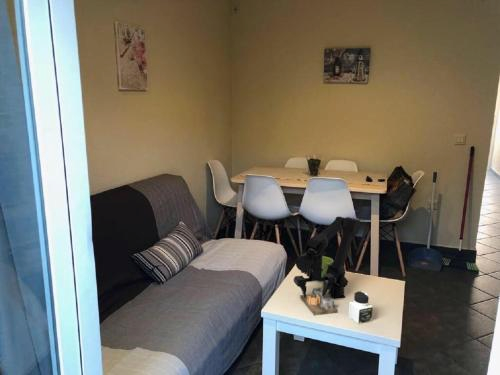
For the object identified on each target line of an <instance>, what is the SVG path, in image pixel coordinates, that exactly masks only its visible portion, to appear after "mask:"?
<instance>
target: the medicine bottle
mask: <svg viewBox="0 0 500 375" xmlns="http://www.w3.org/2000/svg"><path fill="white" fill-rule="evenodd" d="M353 295H354V296H353V301H350V302H349V304H348V318H350V320H352V321H353V322H355V323H356V324H357V325H361V324H365V323H369V322H372V321H373V320H372V319H373V305H371V304H370V303H369V301H370V295H369V293H367V292H365V291H361V290H360V291H359V290H358V291H356V292H355V293H354V294H353Z"/></svg>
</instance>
